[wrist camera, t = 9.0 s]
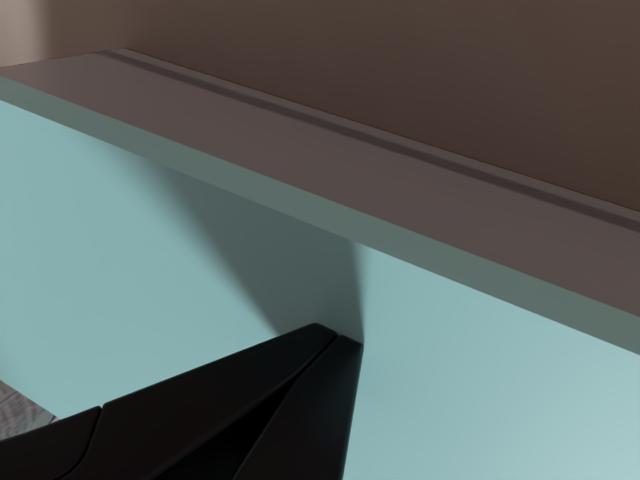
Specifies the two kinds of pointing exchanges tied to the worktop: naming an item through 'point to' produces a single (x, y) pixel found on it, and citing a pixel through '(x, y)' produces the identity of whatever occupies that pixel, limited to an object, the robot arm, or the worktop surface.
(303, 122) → the grey rectangular box
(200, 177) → the lid
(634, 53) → the worktop surface
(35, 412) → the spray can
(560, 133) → the worktop surface
